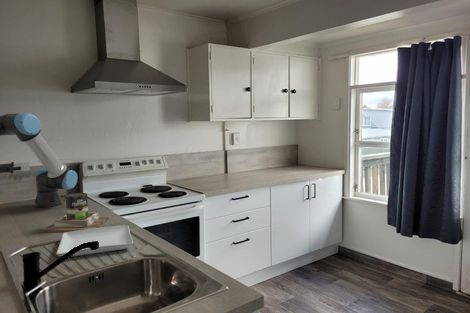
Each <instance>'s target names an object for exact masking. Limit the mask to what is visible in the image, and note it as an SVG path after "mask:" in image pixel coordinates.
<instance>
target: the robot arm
mask: <svg viewBox="0 0 470 313" xmlns="http://www.w3.org/2000/svg"><path fill="white" fill-rule="evenodd" d="M41 133H42V129H41V122H40V119H39V118H38V117H37V116H36V115H34V114H33V113H29V112H20V113H5V114H1V115H0V137H2V136H16V137H17V138H18V140H19V141H20V143H25V144H26V145H27V146H28V148H29V150H31V152H32V153H33V154H34V156H35V157H36V158H37V159H38V161H39V162H40V163H41V164H42V166H43V167H44V168H40V169H37V170H35V176H34V177H35V186H36V196H35V200H34V207H35V208H51V207H56V206H59V205H61V204H62V203H63V200H62V197H61V196H60V192H59V190H72V189H74V187H75V186H76V185H77V183H78V178H79V177H78V173H77V172H76V171H75V170H73V169H69V167H68V166H67V164H65V163H62V162H61V161H60V159H59V158H58V156H57V155H56V154H55V153H54V151H53V150H52V148H51V147H50V146H49V144H48V143H47V142H46V140H45V138H43V136H42V135H41ZM30 169H31V168H30V162H29V161H28V162H27V161H25V162H14V161H10V162H9V163H0V174H1V173H11V174H14V172H26V171H30Z"/></svg>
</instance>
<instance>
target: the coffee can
mask: <svg viewBox="0 0 470 313" xmlns="http://www.w3.org/2000/svg"><path fill="white" fill-rule="evenodd" d="M64 200H65V201H64V202H65V203H64V204H65V215H66V219H67V220H86V219H87V218H89V217H88V213H89V207H88V206H89V205H88V204H89V203H88V193H86V192H74V193H73V192H72V193H69V194H68V193H67V194H64Z"/></svg>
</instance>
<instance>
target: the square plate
mask: <svg viewBox="0 0 470 313" xmlns="http://www.w3.org/2000/svg"><path fill="white" fill-rule="evenodd" d="M131 234H132V233H131V231H130V226H129V225H128V224H125V225H124V224H123V225H111V226H103V227H98V228H93V229H86V230H79V231H72V232H62V235H61V240H60V241H59V245H58V248H57V250H56V253H55V254H56V255H57V256H58V257H61V256H63V255H64V254H66V253H68V252H69V251H70V250H71V249H73V248H74V247H77V246H79V245H81V244H83V243H87V242H92V241H98V242H99V248H98V249H97V250H91V249H90V248H86V249H82V250H80V251H78V252H77V253H75V254H74V255H73V256H71V257H78V256H88V255H93V254H94V255H95V254H100V253H108V252H115V251H119V250H125V249H128V248H130V247H131V246H132V245H133V244H134V240H133V237H132V235H131ZM71 257H70V258H71Z"/></svg>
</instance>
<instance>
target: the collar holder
mask: <svg viewBox="0 0 470 313" xmlns="http://www.w3.org/2000/svg"><path fill="white" fill-rule="evenodd" d="M88 217H89V218H87V219H86V220H67V219H66V214H64V216H62V217H60V218H57V219H56V220H54V223H52V224H50V225H48V226H46V227H44V228H42V229H41V230H40V232H41V233H66V232H72V231H79V230H86V229H93V228H100V226H102V225H103V224H105V223H106V222H107V221H108V220H110V217H112V216H111V215H100V212H98V211H97V212H93V211H92V212H88ZM106 220H107V221H106ZM105 221H106V222H105ZM101 224H102V225H101Z"/></svg>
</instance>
